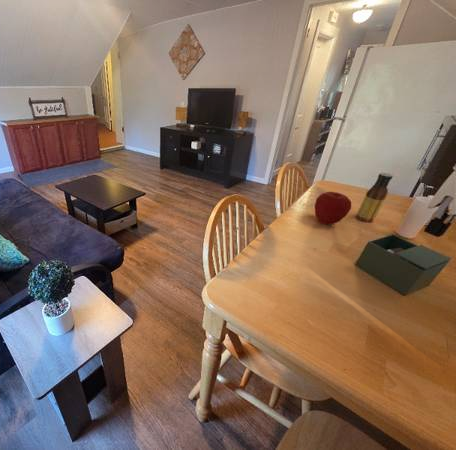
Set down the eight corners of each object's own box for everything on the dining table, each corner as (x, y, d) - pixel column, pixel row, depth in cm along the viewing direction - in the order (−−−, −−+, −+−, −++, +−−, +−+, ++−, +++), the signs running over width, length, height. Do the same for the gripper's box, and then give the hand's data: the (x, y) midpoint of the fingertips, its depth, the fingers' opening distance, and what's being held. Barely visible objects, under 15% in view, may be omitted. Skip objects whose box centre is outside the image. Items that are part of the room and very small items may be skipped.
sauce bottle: (367, 215, 107) (390, 171, 96) (376, 223, 101) (402, 177, 91) (351, 214, 107) (373, 171, 96) (360, 222, 102) (384, 176, 91)
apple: (348, 229, 97) (364, 199, 90) (319, 229, 97) (332, 198, 90) (330, 214, 107) (343, 186, 100) (303, 214, 107) (314, 186, 100)
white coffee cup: (389, 229, 97) (410, 195, 89) (409, 231, 96) (432, 197, 88) (400, 239, 91) (424, 203, 83) (421, 241, 90) (447, 205, 82)
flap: (450, 259, 66) (451, 258, 66) (425, 269, 63) (425, 268, 62) (420, 245, 72) (420, 244, 71) (395, 254, 68) (395, 253, 68)
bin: (429, 285, 71) (449, 260, 66) (404, 296, 68) (424, 270, 63) (378, 257, 82) (392, 234, 77) (354, 265, 79) (368, 241, 74)
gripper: (475, 158, 60) (431, 221, 70) (440, 165, 56) (398, 232, 65) (522, 167, 54) (467, 235, 64) (487, 176, 50) (433, 247, 59)
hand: (432, 233), depth 65 cm, fingers closed
